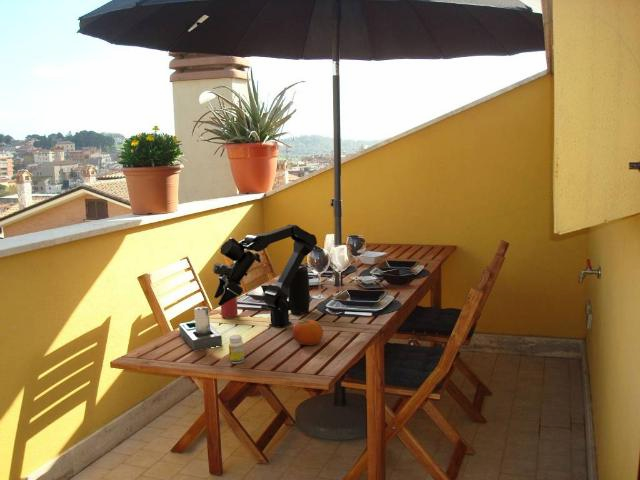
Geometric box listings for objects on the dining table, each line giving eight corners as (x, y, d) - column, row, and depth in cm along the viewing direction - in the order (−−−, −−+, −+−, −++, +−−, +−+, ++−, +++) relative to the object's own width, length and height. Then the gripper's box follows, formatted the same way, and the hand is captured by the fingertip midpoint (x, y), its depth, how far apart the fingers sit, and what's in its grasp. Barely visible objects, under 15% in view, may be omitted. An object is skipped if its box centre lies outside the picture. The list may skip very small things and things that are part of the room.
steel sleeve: (214, 343, 225) (211, 307, 222) (204, 347, 220) (201, 311, 218) (203, 341, 227) (201, 306, 225) (193, 345, 223) (191, 309, 221)
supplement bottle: (230, 359, 208) (228, 334, 206) (244, 358, 208) (243, 333, 207) (229, 364, 203) (227, 339, 202) (244, 363, 203) (242, 338, 202)
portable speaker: (286, 315, 255) (283, 268, 252) (293, 308, 264) (290, 263, 261) (306, 316, 253) (304, 268, 249) (313, 309, 262) (310, 263, 258)
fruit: (327, 339, 223) (326, 318, 222) (317, 349, 213) (316, 327, 212) (299, 337, 227) (298, 316, 225) (288, 347, 217) (287, 325, 216)
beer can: (234, 318, 253) (232, 289, 251) (219, 318, 255) (217, 289, 253) (239, 314, 260) (238, 285, 258) (224, 313, 261) (222, 285, 259)
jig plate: (222, 346, 221) (221, 334, 220) (194, 351, 217) (193, 339, 216) (205, 329, 241) (205, 318, 240) (179, 334, 236) (178, 322, 236)
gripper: (219, 248, 235) (195, 283, 234) (228, 260, 217) (201, 297, 217) (243, 264, 239) (220, 298, 238) (253, 276, 221) (228, 313, 221)
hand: (217, 301), depth 229 cm, fingers open, 9 cm apart
